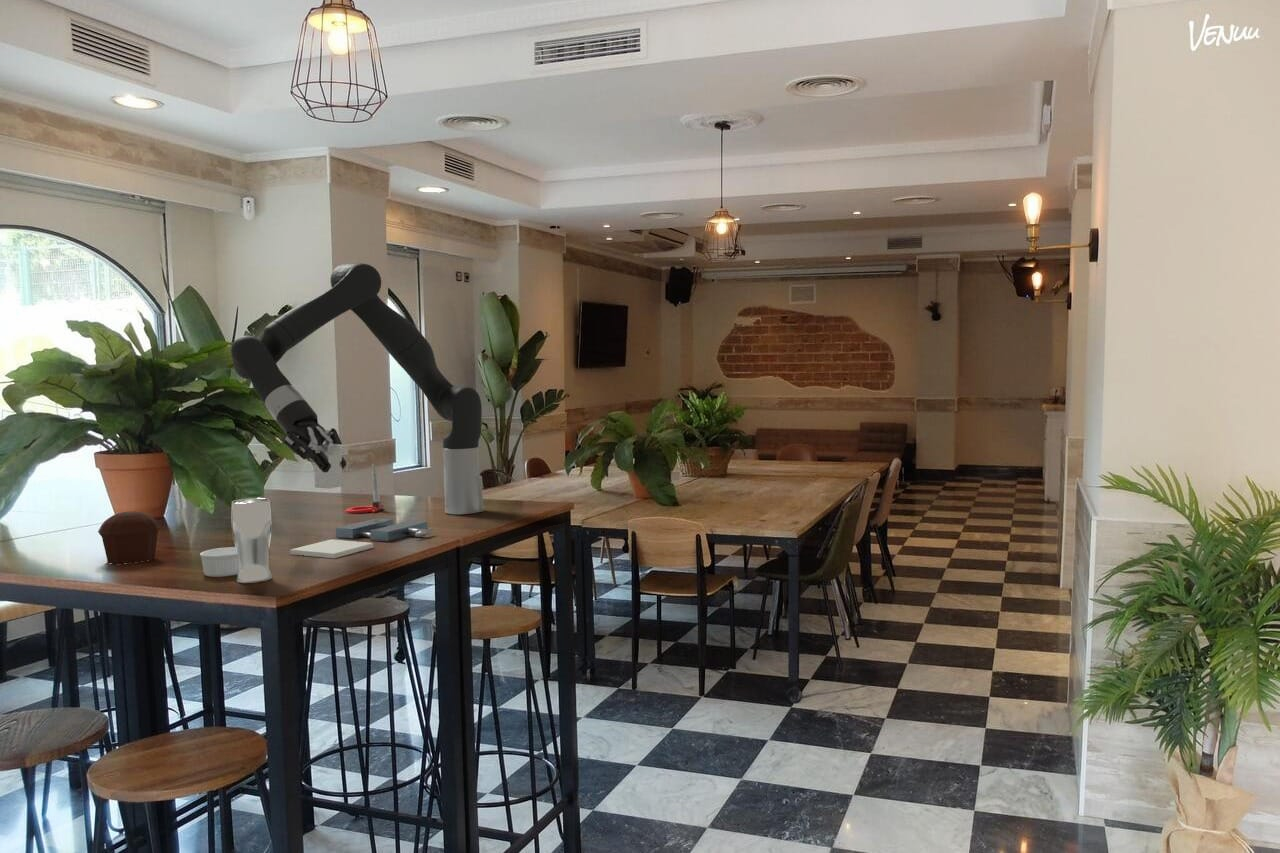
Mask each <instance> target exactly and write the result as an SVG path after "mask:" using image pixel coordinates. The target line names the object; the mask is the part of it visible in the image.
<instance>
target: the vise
mask: <svg viewBox="0 0 1280 853" xmlns="http://www.w3.org/2000/svg"><path fill="white" fill-rule="evenodd" d="M434 532H435V530H434V528H429V529H428V521H424V520H423V521H422V520H407V521H403V522H399V523H395V524H394V519H393V518H371V519H367V520H364V521H360V522H359V521H358V522H355V523H350V524H346V525H343V526H338V527H335V537H336V538H342V539H357V538H370V541H374V542H375V541H376V542H378V541H379V542H386V543H387V542H391V541H395V540H399V539H403V538H407V537H410V536H414V537H415V538H416V537H427V536H428V534H431V533H434Z"/></svg>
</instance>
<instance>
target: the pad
mask: <svg viewBox="0 0 1280 853" xmlns="http://www.w3.org/2000/svg"><path fill="white" fill-rule="evenodd" d="M373 548H374V543H373V542H364V541H355V540H354V541H353V540H345V539H344V540H343V539H327V540H323V541H319V542H316V543H310V544H306V545H303V546H299V547H296V548H291V549H290V555H292V556H293V555H294V556H295V555H296V556H303V555H304V556H306V557H315V558H326V559H327V558H328V559H337V558H341V557H345V556H348V555H351V554H356V553H358V552H363V551H366V550H369V549H373Z"/></svg>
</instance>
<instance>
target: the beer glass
mask: <svg viewBox="0 0 1280 853" xmlns="http://www.w3.org/2000/svg"><path fill="white" fill-rule="evenodd" d="M230 519H231V525H230V526H231V532H232V539H233V542H234V543H233V544H234V547H236V551H237V556H238V574H237V575H236V582H237V583H240V584H258V583H263V582H267V581H270V580H272V578H273V575H272V571H271V568H270V561H269V555H270V554H269V553H270V546H271V545H270V544H271V537H272V529H273V528H272V527H273V524H272V521H273V520H272V511H271V503H270V499H269V498H266V497H249V498H248V497H247V498H239V499H234V500H232V501H231V517H230Z"/></svg>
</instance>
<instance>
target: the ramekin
mask: <svg viewBox="0 0 1280 853" xmlns="http://www.w3.org/2000/svg"><path fill="white" fill-rule="evenodd" d="M199 557H200V559H201V564H202V571H203V575H204V576H206V577H211V578H221V577H223V578H224V577H230V576H231V577H232V576H237V574H238V556H237V551H236V547H235V546H230V547H226V546H225V547H217V548H212V549H207V550H204V551H202V552H200V553H199Z"/></svg>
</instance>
